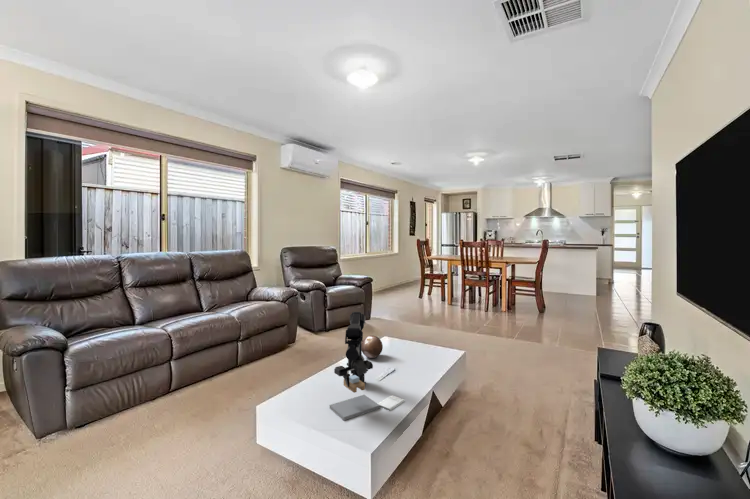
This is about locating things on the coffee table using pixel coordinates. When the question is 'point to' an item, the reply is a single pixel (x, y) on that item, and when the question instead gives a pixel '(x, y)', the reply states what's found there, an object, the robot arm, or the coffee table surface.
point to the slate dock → (354, 407)
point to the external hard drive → (390, 402)
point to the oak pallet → (355, 386)
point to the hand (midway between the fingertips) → (354, 385)
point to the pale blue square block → (353, 379)
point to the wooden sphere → (372, 346)
